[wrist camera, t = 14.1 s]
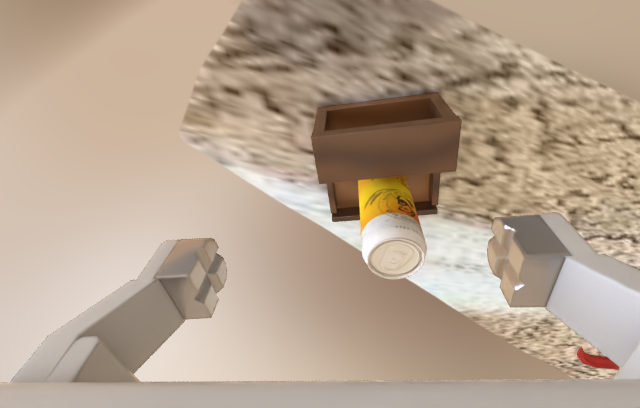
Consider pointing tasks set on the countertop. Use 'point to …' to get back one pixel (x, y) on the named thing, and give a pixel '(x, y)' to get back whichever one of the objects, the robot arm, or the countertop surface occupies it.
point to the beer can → (390, 228)
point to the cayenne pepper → (596, 360)
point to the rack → (385, 148)
